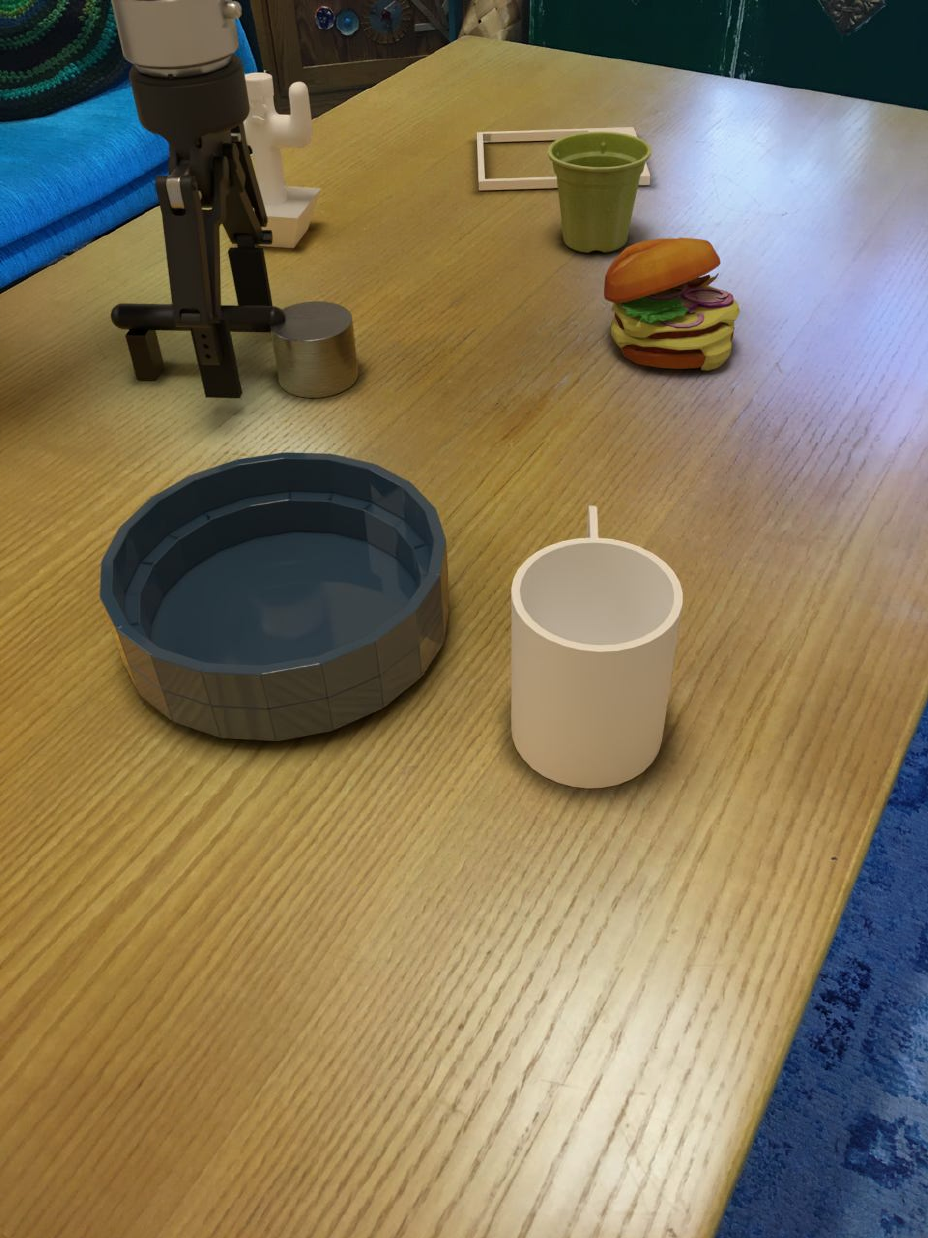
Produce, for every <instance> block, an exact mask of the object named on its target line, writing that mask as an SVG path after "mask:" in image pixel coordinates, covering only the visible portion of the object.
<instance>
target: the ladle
mask: <svg viewBox="0 0 928 1238" xmlns="http://www.w3.org/2000/svg"><path fill="white" fill-rule="evenodd" d="M221 313H222V315H227V318H228V323H229V328H230V333H260V334H261V333H264V334H266V333H267V334H270V337H271V342H272V348H273V353H274V360H275V366H276V371H277V372H276V373H277V378H278V383H279V385H280V387H281V388H282V389H283V390H284V391H285V392H286V393H288V394H290V395H293V396H295V397H300V398H307V399H318V398H328V397H331V396H335V395H338V394H340V393H343V392H345V391H347V390H348V389H350V388H351V387H353V386H354V384H355V383H356V382H357V380H358V378H359V366H358V359H357V358H358V355H357V350H356V349H357V347H356V339H355V332H354V331H355V330H354V321H353V315H352V313H351V311H350V310H349V309H348V308H346V307H345V306H343V305H341V304H339V303H335V302H331V301H322V300H321V301H320V300H317V301H316V300H315V301H305V302H304V301H303V302H299V303H294V304H291V305H289V306H286V307H284V308H282V309H281V308H280V307H278V306H275V305H273V306H240V305H238V304H236V305H234V304H232V305H231V304H221ZM110 321H111V322H112V324H113V326H115V327H116V328H117V329H119V330H124V331H127V332H126V333H125V335H124V338H125V341H126V345H127V348H128V352H129V355H130V359H131V362H132V367H133V370H134V374H135V378H136V380H137V381H155V382H156V381H157V380H158V378H159V376H160V374H161V372H162V371H163V369H164V367H165V361H164V358H163V355H162V351H161V346H160V343H159V339H158V335H157V331H167V332H168V331H169V332H173V331H174V332H191V331H190V327H176V326H175V324H174V319H173V308H172V303H129V302H128V303H125V302H124V303H123V302H121V303H117V304H116V305H114V306H113V307H112V309H111V311H110Z"/></svg>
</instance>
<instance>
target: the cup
mask: <svg viewBox="0 0 928 1238" xmlns="http://www.w3.org/2000/svg"><path fill="white" fill-rule="evenodd" d="M598 521H599V520H598V507H597V505H588V507H587V521H586V535H585V537H577V538H571V539H566V540H562V541H559V542H556V543H552V544H550V545H547V546H546V547H543V548H541V549H539V550H537V551H536V552H535V553H533V554H531V555H530V556H529V557H528V558H527V559H525V561H524V562H523V563H522V564H521V565H520V566H519V567H518V569H517V571H516V572H515V574H514V576H513V578H512V584H511V589H510V594H511V595H510V597H511V599H510V606H511V607H510V615H511V617H510V618H511V619H510V627H511V629H510V631H511V632H510V635H511V636H510V654H511V655H510V659H511V660H510V664H511V665H510V668H511V669H510V677H511V678H510V682H511V683H510V704H511V705H510V728H511V738H512V741H513V744H514V746H515V749H516V751H517V752H518V754H519V755H520V757H521V759H522V760H523V761H524V762H525V763H526V764H527V765H528V766H529V767H530V768H531V769H532V770H534V771H535V772H537V774H539V775H541V776H543V777H544V778H546V779H549V780H551V781H552V782H555V783H557V784H561V785H565V786H567V787H568V786H569V787H572V788H581V789H604V788H609V787H614V786H618V785H621V784H624V783H625V782H628V781H631V780H633V779H634V778H636V777H638V776H639V775H640V774H642V773H643V772H645V771H646V769H648V768H649V767H650V766H651V765H652V764H653V762H654V760H655V759H656V758H657V756H658V754H659V753H660V749H661V746H662V742H663V737H664V730H665V724H666V718H667V717H666V715H667V710H668V703H669V697H670V690H671V683H672V676H673V671H674V663H675V657H676V651H677V645H678V644H677V643H678V637H679V631H680V623H681V617H682V612H683V611H682V610H683V604H684V602H683V601H684V600H683V599H684V592H683V589H682V584H681V581H680V580H679V578H678V576H677V575H676V573H675V572H674V570H673V569H672V568H671V567H670V566H669V565H668V564H667V563H666V562H665V561H664V560H663V559H662V558H660V557H658V555H656V554H654V553H653V552H651V551H649V550H647V549H645V548H643V547H642V546H639V545H636V544H633V543H630V542H628V541H624V540H619V539H613V538H605V537H599V522H598Z"/></svg>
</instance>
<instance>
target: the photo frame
mask: <svg viewBox="0 0 928 1238" xmlns="http://www.w3.org/2000/svg"><path fill="white" fill-rule="evenodd" d="M635 129H636V128H635V127H634V126H624V127H622V126H621V127H620V126H619V127H595V128H593V127H592V128H590V127H589V128H562V129H531V130H504V131H503V130H501V131H477V132H476V150H477V151H476V152H477V176H478V180H477V181H478V191H497V190H498V191H502V190H531V189H533V190H534V189H558V185H557V176H533V177H532V176H531V177H503V178H486V174H485V172H486V171H485V152H484V151H485V150H484V143H502V142H503V143H504V142H505V143H506V142H507V143H508V142H535V141H539V142H540V141H556V140H558V139H560V138H562V137H566V136H569V135H573V134H578V133H585V132H617V133H621V134H628V135H632V136H635V137H638V135H637V132H636V130H635ZM650 185H651V173H650V170H649V168H648V165H647V161H646V162H645V166H644V170H643V172H642V174H641V175H640V179H639V184H638V186H650Z"/></svg>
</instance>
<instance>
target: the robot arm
mask: <svg viewBox="0 0 928 1238" xmlns="http://www.w3.org/2000/svg"><path fill="white" fill-rule="evenodd" d="M110 1H111V5H112V10H113V15H114V20H115V24H116V29H117V33H118V38H119V42H120V46H121V51H122V56H123V57H124V59H125V60H126V61H127V62H129V63H131V64H132V65H131V67H130V70H129V72H128V78H129V82H130V87H131V91H132V96H133V100H134V104H135V109H136V113H137V117H138V121H139V123H140V125H141V127H143V129H145V130H146V131H148V132H149V133H151V134H154V135H158V136H160V137H162V138H163V139H164V140H165V141H166V142H167V144H168V152H169V153H168V154H169V157H168V158H167V159H168V161H167V163H168V164H167V167H168V171H167V172H168V175H167V174H166V175H165V174H164V175H161V174H158V175H156V176H155V179H154V187H155V192H156V196H157V200H158V203H159V208H160V212H161V218H162V227H163V236H164V243H165V244H164V246H165V254H166V255H165V256H166V263H167V272H168V282H169V290H170V298H171V299H170V300H171V304H172V308H173V319H174V324H175V326H176V327H190V331H189V332H190V334H191V340H192V344H193V348H194V353H195V357H196V361H197V366H198V370H199V375H200V378H201V384H202V387H203V392H204V396H205V398H207V399H241V397H242V395H243V389H242V384H241V379H240V378H241V377H240V374H239V369H238V363H237V359H236V354H235V348H234V344H233V338H232V332H230V328H229V323H228V318H227V315H222V313H221V305H222V287H221V286H222V283H221V277H222V276H221V236H220V235H221V231H220V227H221V226H223V229H224V231H225V233H226V234H227V235H226V236H227V237H228V239H229V241H230V243H231V244H232V245H236V246H237V247H235V246H233V247H232V246H230V247H229V249H228V250H227V255H228V260H229V265H230V270H231V275H232V281H233V286H234V292H235V296H236V297H235V298H236V300H237V305H240V306H274V304H273V299H272V293H271V288H270V287H271V286H270V281H269V275H268V274H269V273H268V269H267V262H266V255H265V251H264V247H260V246H259V244H272V241H273V235H272V230H262V228H261V227H266V226H267V223H268V217H267V214H266V211H265V207H264V203H263V200H262V196H261V192H260V189H259V185H258V181H257V176H256V170H255V166H254V164H253V163H254V162H253V160H252V156H251V152H250V149H249V146H248V145H247V141H246V135H245V129H244V123H243V122H244V121H245V120H246V118H247V117H248V115H249V112H250V105H249V99H248V93H247V87H246V80H245V74H246V73H245V69H244V63H243V61H242V60H241V59H240V58H239V56H238V55H237V54H235V52H236V51H237V50H238V49H239V46H240V43H239V37H238V29H237V23H236V20H237V19H239V18H241V16H242V14H243V13H242V12H243V11H242V9H243V8H242V5H241V4H240V2H238V1H236V0H110ZM253 208H254V209H253Z"/></svg>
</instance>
